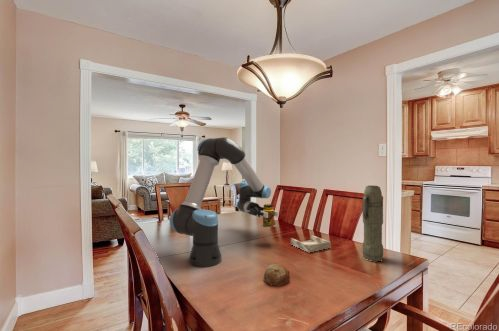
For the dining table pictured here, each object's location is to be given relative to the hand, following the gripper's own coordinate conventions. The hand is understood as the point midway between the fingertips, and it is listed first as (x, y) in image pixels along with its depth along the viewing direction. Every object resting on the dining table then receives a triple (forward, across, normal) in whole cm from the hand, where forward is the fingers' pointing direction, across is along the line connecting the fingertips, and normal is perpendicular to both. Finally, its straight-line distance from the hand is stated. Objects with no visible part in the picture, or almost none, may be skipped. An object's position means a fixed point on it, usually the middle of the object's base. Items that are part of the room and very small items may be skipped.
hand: (272, 214), depth 140 cm
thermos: (+36, -33, -18) cm, 53 cm away
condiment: (-5, 0, -7) cm, 9 cm away
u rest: (+8, -19, -18) cm, 27 cm away
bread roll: (+33, +20, -18) cm, 43 cm away
